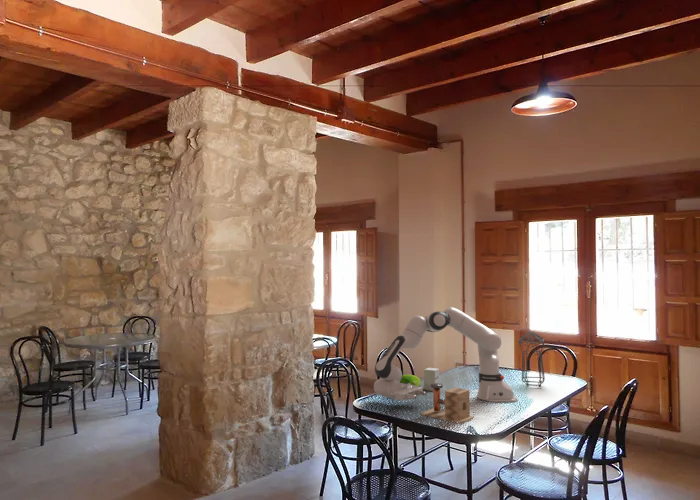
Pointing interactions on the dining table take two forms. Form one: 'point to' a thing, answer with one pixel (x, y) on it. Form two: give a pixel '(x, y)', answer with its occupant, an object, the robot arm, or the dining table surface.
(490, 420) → the dining table surface
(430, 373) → the supplement box
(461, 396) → the light wood block structure
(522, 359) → the geometric lantern
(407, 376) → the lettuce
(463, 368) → the dining table surface
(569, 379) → the dining table surface
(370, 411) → the dining table surface
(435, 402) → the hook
